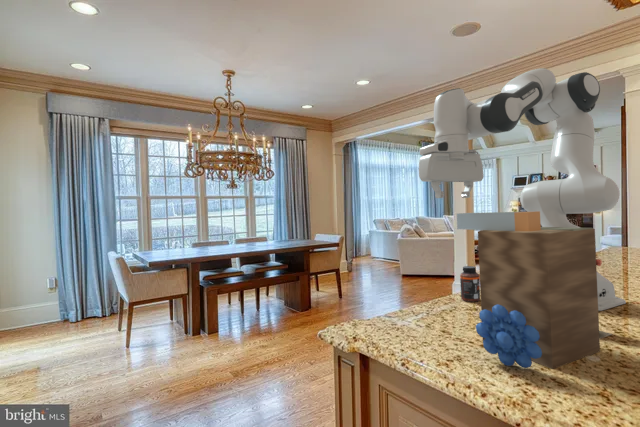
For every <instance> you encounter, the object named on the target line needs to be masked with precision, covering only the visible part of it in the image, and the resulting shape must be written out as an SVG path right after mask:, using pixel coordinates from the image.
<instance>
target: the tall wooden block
mask: <svg viewBox="0 0 640 427" xmlns="http://www.w3.org/2000/svg"><path fill="white" fill-rule="evenodd" d="M477 239H478V240H477V241H478V242H477V244H478V245H477V246H478V267H479V268H478V269H479V285H480V309H481V310H484V309H486V310H489V311H491V312H492V307H493V306H494V305H497V304H498V305H501V306H504V307H505V308H506V309H507V311H508V315H509V313H510V312H511V311H514V310H516V311H519V312H521V313H522V314H523V315H524V316H525V318H526V324H525V325H530V326H533V327H534V328H535V329H536V330H537V331H538V332H539V336H540V338H539V340H538V341H536V342H534V343H536V344H537V345H538V346H539V347H540V348H541V351H542V355H541V357H540V358H537V359H534V358H531V357H530V358H531V361H532V363H536V364H539V365H540V366H541V365H542V366H544V367H547V368H549V369H556V368H558V367H562V366H564V365H567V364H569V363H573V362H575V361H577V360H578V361H579V360H580V359H583V358H587V357H589V356H591V355H594V354H597V353H599V352H601V348H600V347H601V344H600V343H601V342H600V341H601V340H600V339H601V338H600V339H599V331H600V324H599V323H600V317H599V316H600V315H599V311H598V293H597V272H598V271H597V270H598V269H597V265H596V259H597V253H596V250H597V249H596V229H595V228H593V227H581V228H568V227H542V226H541V230H538V231H498V230H477ZM481 310H480V311H481ZM484 339H486V338H483V337H482V342H483V341H484Z"/></svg>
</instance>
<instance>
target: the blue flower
mask: <svg viewBox="0 0 640 427" xmlns="http://www.w3.org/2000/svg"><path fill="white" fill-rule="evenodd" d="M478 313H479V314H478V315H479V320H480V321H481V322H478V323H477V324H476V325H475V330H476V333H477V334H478V336H480V337H481V338H482V339H483V338H486V339H484V341H483V340H482V344H483V346H482V347H483V348H484V350H485V351H486V352H487V353H489V354H490V355H496V354H497V358H498V359H499V361H500V362H501V363H502V364H503V365H505V366H507V367H510V366H513V365H515V363H516V364H517V365H518V366H519V367H521V368H524V369H527V368H531V367H532V364H533V361H531V358H534V359H537V358H540V357H541V355H542V351H541V348H540V347H539V346H538V345H537V344H536V343H534V342H536V341H538V340H539V338H540V336H539V332H538V331H537V330H536V329H535V328H534V327H533V326H530V325H525V324H526V318H525V316H524V315H523V314H522V313H521V312H519V311H516V310H514V311H511V312H510V313H509V315H508V311H507V309H506V308H505V307H504V306H501V305H498V304H497V305H494V306H493V307H492V312H491V311H489V310H486V309H484V310H480V311H479V312H478ZM530 357H531V358H530Z"/></svg>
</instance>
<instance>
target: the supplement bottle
mask: <svg viewBox="0 0 640 427" xmlns="http://www.w3.org/2000/svg"><path fill="white" fill-rule="evenodd" d="M462 271H463V272H461V273H460V274H459V278H460V279H459V281H460V297H461V298H460V299H461V300H462V301H465V302H470V303H472V302H473V303H475V302H479V301H481V292H480V274H479V273H478V272H477V268H476V266H472V265H467V266H466V265H465V266H463V267H462Z"/></svg>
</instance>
